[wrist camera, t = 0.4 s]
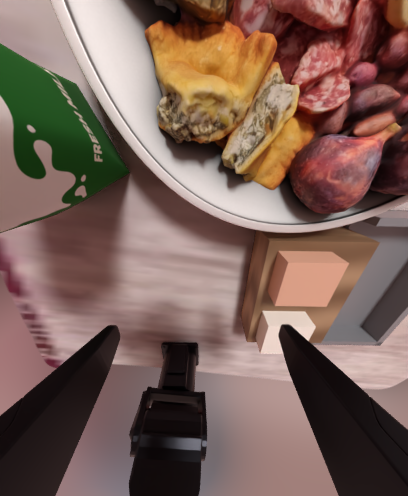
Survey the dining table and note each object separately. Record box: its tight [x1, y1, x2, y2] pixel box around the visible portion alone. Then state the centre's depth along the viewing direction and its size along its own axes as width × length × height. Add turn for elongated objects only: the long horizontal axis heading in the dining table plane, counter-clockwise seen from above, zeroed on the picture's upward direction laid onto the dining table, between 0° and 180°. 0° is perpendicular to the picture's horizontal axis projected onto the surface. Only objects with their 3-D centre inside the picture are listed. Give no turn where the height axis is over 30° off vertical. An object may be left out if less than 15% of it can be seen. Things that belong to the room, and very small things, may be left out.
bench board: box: [241, 227, 380, 343], centre depth 19 cm, size 15×10×4 cm, turn 179°
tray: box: [311, 210, 408, 346], centre depth 20 cm, size 19×10×3 cm, turn 179°
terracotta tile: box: [268, 251, 349, 307], centre depth 15 cm, size 5×5×2 cm
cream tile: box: [255, 311, 316, 354], centre depth 19 cm, size 5×5×2 cm
